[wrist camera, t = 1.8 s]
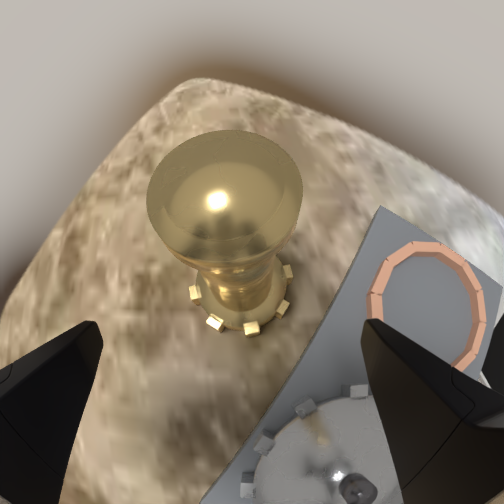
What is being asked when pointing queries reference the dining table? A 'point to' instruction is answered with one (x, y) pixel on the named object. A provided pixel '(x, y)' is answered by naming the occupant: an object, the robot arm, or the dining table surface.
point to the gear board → (390, 312)
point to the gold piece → (229, 223)
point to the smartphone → (495, 355)
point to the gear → (325, 455)
